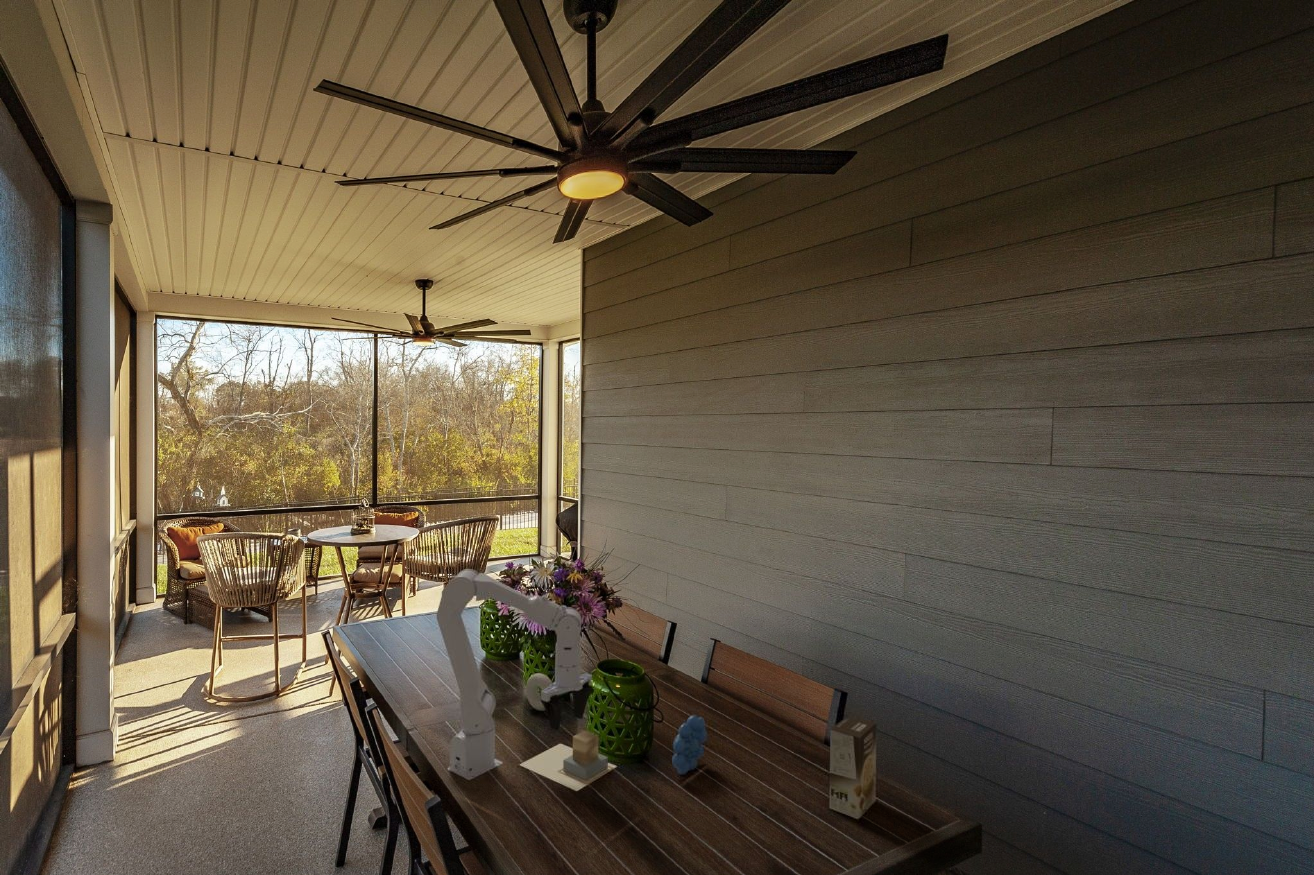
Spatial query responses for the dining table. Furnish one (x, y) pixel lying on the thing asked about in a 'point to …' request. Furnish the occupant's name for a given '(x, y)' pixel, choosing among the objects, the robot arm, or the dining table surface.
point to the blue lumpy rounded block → (689, 744)
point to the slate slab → (585, 767)
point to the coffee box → (852, 766)
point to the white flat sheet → (559, 767)
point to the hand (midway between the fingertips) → (566, 723)
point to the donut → (536, 689)
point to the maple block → (585, 747)
